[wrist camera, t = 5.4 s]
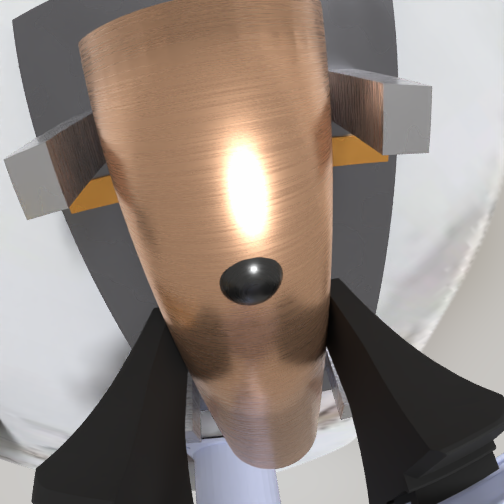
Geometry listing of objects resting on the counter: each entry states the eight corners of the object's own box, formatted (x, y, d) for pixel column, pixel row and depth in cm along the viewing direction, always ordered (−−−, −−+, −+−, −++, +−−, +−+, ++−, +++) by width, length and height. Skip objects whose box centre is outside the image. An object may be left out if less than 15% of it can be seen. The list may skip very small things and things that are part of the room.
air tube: (301, 382, 18) (330, 458, 14) (219, 401, 17) (236, 482, 13) (279, 20, 7) (381, -8, 3) (107, 50, 7) (28, 44, 3)
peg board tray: (353, 370, 19) (377, 434, 15) (175, 399, 19) (174, 468, 15) (372, -38, 7) (464, -68, 3) (26, 20, 6) (-70, 24, 2)
